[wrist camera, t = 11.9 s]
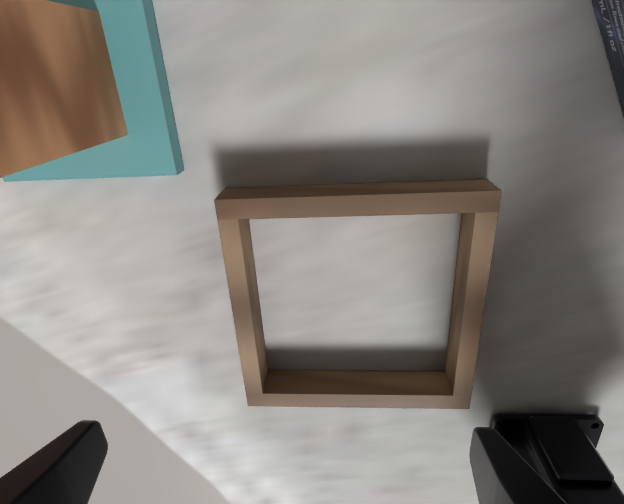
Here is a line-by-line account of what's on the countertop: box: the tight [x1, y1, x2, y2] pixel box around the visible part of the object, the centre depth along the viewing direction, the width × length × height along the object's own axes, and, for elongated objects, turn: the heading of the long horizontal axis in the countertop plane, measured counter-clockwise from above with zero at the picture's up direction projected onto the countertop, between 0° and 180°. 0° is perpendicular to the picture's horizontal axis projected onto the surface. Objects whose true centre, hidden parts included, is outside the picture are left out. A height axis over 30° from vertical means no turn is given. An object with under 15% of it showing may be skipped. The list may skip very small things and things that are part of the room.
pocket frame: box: [214, 179, 502, 409], centre depth 22 cm, size 13×13×2 cm
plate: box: [3, 0, 184, 182], centre depth 18 cm, size 9×9×1 cm
